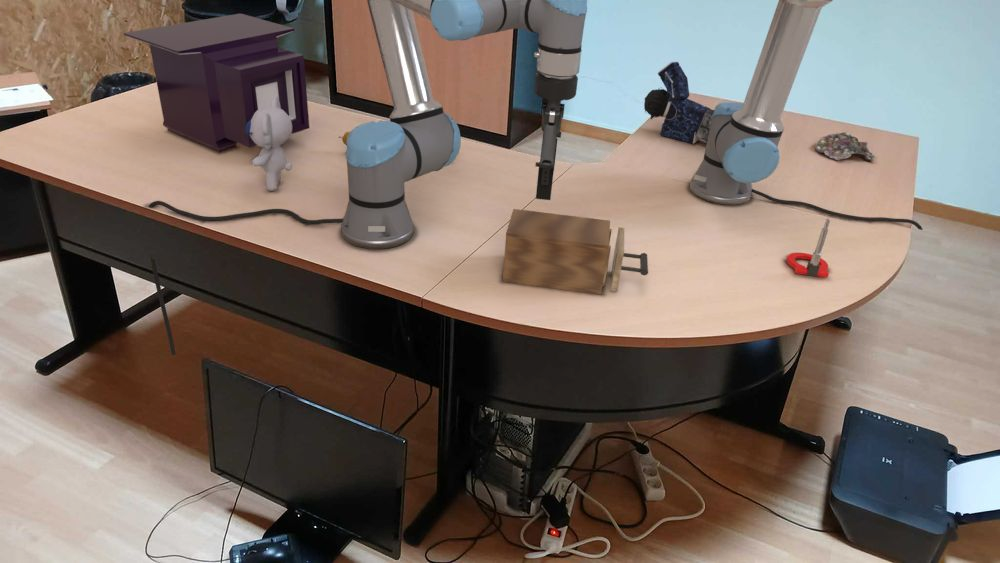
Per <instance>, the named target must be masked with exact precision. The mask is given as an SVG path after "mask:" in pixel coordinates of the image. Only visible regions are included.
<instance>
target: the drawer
mask: <svg viewBox="0 0 1000 563" xmlns="http://www.w3.org/2000/svg"><path fill="white" fill-rule="evenodd" d="M612 230H613V229H612V228H610V235H609V249H608V255H607V261H606V267H605V273H604V280H603V286H602V287H606V280H607V274H608V267H609V261H610V255H611V250H612V246H611V245H610V243H611V238H612V232H613V231H612ZM624 258H630V259H639V267H632V266H624V265H623V259H624ZM621 271H625V272H633V273H640V275H641V276H647V275H648V274H649V258H648V254H647V253H646V252H642V253H640V254H636V253H628V252H627V253H626V252H625V227H620V226H618V228H617V233H616V239H615V246H614V251H613V258H612V265H611V280H610V281H611V283H610V290H611V291H612V292H613V291H614V292H618V289H619V283H620V277H621Z"/></svg>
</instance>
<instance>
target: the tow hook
mask: <svg viewBox="0 0 1000 563" xmlns="http://www.w3.org/2000/svg"><path fill="white" fill-rule="evenodd" d="M830 222H831V219H830V218H826V219H825V222H824V225H823V227H822V228H821V231H820V234H819V236H818V240H817V244H816V247H815V250H814V252H813V253H812V254H811V253H807V252H791V253H789V254H788V255H787V256H786V262H787V264H788V265H789V266H790V267H791V268H793V269H794V273H795V274H799V275H806V276H811V277H821V278H828V277H829V274H830V272H829V270H828V269H829V264H828V263H827V261H825V260H824V259H823V258H821V257H822V251H823V247H824V244H825V241H826V238H827V235H828V232H829V225H830ZM798 259H803V260H808V262H807V264H806V266H805V265H803V264H800V263H799V262H797V261H796V260H798Z"/></svg>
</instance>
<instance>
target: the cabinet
mask: <svg viewBox="0 0 1000 563" xmlns="http://www.w3.org/2000/svg"><path fill="white" fill-rule="evenodd" d="M610 229H611V220H609V219H608V220H607V219H601V218H593V217H584V216H576V215H568V214H560V213H550V212H543V211H536V210H535V211H534V210H526V209H521V208H520V209H519V208H513V209H512V212H511V216H510V219H509V222H508V226H507V229H506V231H505V245H504V257H503V258H504V259H503V269H502V270H503V272H502V283H510V284H519V285H527V286H533V287H539V288H540V287H541V288H548V289H556V290H564V291H570V292H571V291H572V292H579V293H585V294H593V295H602V292H603V291H602V290H603V287H604V286H603V280H604V273H605V267H606V261H607V255H608V249H609V246H610V244H609V235H610Z"/></svg>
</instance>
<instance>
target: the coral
mask: <svg viewBox="0 0 1000 563" xmlns="http://www.w3.org/2000/svg"><path fill="white" fill-rule="evenodd" d="M815 150H816V151H817V152H818V153H824V155H825V156H827V157H828V158H830V159H832V160H835V161H839V160H840V161H841V160H844V159H848V158H851V157H852V155H853V154H854V155H857V154H859V155H860V156H861V158H863V159H865V160H866V161H871V162H874V160H875V159H874V158H875V155H874V154H873V153H872V152H871V151H870V149H869V147H868V142H867V141H859V139H858V137H855V136H853V135H852V134H851V133H849V132H848V131H846V132H844V131H843V132H836V133H830V134H827V135H826V136H822V137H820V138H819V140H818V141H817V142H816V144H815ZM873 157H874V158H873Z"/></svg>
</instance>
